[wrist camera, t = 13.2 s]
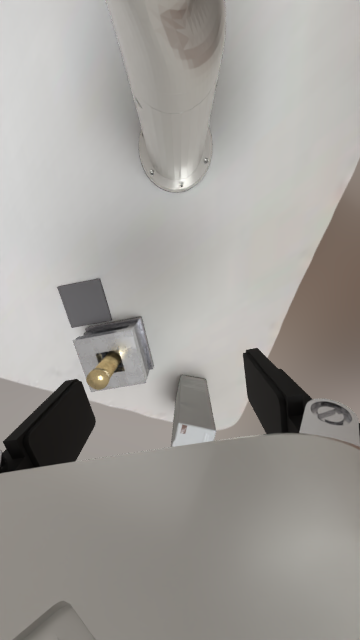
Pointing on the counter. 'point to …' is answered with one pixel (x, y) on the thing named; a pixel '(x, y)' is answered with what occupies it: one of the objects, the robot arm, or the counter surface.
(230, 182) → the counter surface
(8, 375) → the counter surface
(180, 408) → the skincare box
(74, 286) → the mat
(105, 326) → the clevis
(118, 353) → the pin
